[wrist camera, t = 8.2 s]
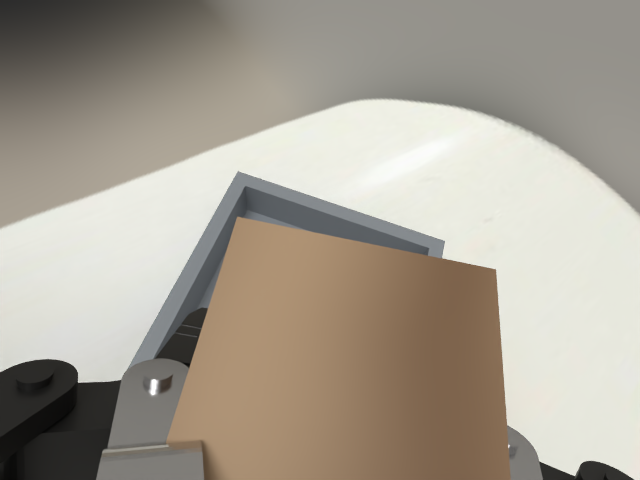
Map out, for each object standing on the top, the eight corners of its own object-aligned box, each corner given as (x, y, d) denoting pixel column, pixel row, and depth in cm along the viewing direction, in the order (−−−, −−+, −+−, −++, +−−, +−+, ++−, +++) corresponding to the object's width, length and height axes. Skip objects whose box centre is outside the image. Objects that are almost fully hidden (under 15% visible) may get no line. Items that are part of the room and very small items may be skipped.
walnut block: (215, 487, 14) (131, 551, 5) (251, 345, 16) (237, 216, 7) (356, 513, 14) (521, 619, 5) (370, 368, 16) (495, 269, 7)
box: (138, 396, 25) (117, 387, 21) (240, 201, 32) (237, 171, 29) (380, 486, 24) (399, 492, 20) (425, 264, 32) (444, 241, 28)
